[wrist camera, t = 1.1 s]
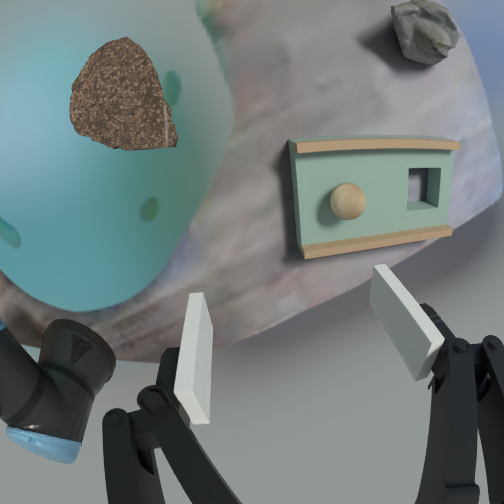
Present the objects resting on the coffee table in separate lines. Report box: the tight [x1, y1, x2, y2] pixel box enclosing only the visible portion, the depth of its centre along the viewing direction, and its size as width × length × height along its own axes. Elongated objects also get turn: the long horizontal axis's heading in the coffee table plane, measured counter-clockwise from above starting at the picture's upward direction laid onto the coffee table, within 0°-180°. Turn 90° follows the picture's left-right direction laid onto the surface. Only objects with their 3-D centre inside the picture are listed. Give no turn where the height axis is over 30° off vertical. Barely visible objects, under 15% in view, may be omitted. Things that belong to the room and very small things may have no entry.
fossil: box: [391, 0, 459, 65], centre depth 20 cm, size 11×9×8 cm
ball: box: [330, 183, 366, 220], centre depth 29 cm, size 4×4×4 cm
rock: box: [69, 37, 178, 150], centre depth 23 cm, size 12×10×10 cm
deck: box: [288, 135, 460, 259], centre depth 31 cm, size 22×13×4 cm, turn 97°
